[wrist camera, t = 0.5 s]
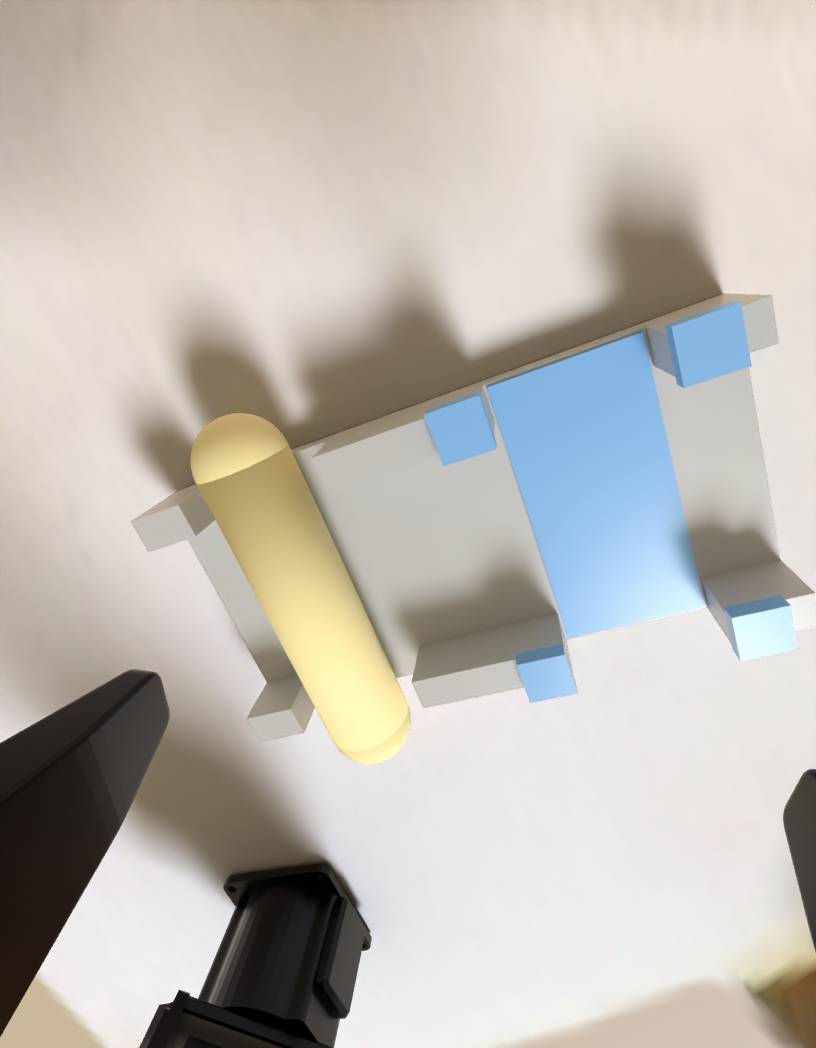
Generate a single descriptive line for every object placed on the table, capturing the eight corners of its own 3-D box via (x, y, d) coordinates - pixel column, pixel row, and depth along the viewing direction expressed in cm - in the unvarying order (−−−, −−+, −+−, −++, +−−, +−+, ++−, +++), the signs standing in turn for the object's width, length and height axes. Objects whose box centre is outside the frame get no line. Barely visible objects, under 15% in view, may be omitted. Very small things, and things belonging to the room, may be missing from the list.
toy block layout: (288, 692, 25) (256, 757, 22) (176, 485, 22) (116, 523, 18) (773, 580, 20) (831, 643, 17) (722, 286, 17) (782, 287, 13)
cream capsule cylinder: (426, 714, 23) (417, 775, 20) (357, 728, 24) (339, 789, 21) (280, 390, 19) (241, 410, 16) (202, 421, 20) (151, 445, 17)
